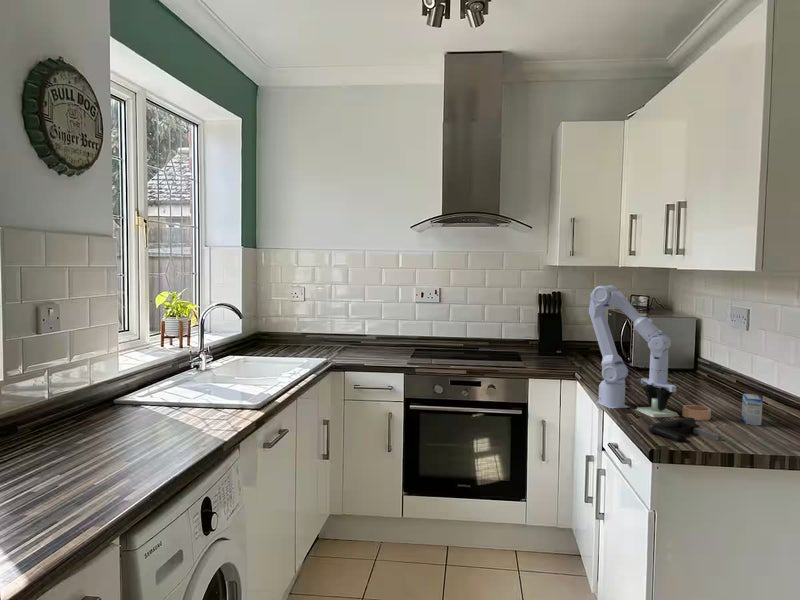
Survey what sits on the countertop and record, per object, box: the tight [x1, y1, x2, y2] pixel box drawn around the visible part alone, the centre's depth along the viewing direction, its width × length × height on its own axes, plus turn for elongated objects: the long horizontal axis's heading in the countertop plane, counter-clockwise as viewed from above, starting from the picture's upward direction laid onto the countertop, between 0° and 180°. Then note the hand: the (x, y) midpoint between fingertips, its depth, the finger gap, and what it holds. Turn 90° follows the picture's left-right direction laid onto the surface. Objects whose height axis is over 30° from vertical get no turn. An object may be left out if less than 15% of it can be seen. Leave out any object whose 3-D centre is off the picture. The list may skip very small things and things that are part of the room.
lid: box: [636, 398, 679, 418], centre depth 198 cm, size 9×9×5 cm
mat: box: [634, 408, 680, 418], centre depth 198 cm, size 10×10×1 cm
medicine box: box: [741, 393, 763, 426], centre depth 189 cm, size 8×4×9 cm, turn 159°
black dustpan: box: [648, 417, 723, 443], centre depth 174 cm, size 3×20×16 cm
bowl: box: [681, 404, 712, 421], centre depth 193 cm, size 8×8×4 cm
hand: (657, 408), depth 198 cm, fingers open, 4 cm apart
